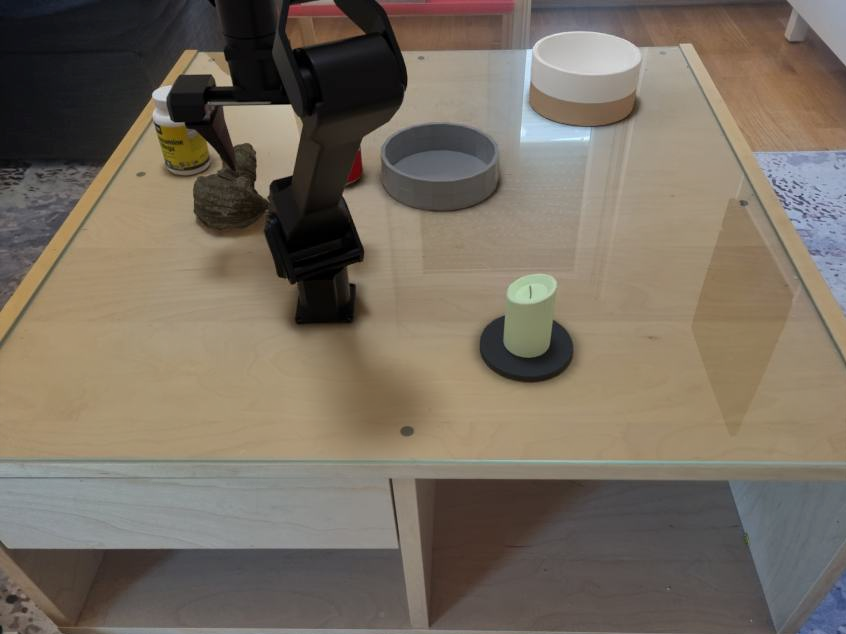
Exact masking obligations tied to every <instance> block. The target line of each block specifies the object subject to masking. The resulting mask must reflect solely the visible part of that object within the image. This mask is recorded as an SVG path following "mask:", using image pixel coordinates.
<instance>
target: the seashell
mask: <svg viewBox="0 0 846 634" xmlns="http://www.w3.org/2000/svg"><path fill="white" fill-rule="evenodd" d="M233 148H234V151H235V155H236V160H237V166H238V167H237V171H235V172H233V171H232V170H231V169H230V168H229V166H228V165H227V164H226V163H225V161H224V160H223V159H222V158H221V156H220V155H219V159H220V160H221V163H222V165H221V166H222V168H221V169H217V171H216V173H211V174H208V175H205V176H203V175H198V176H197V177H196V179H195V181H194V182H193V189H192V197H193V214H194V215H195V217H196V218H197V219H198V221H199V222H200V223H201V224H202V225H203V227H206V228H207V229H210V230H213V231H221V232H222V231H227V230H242V229H246V228H248V227H249V226H252V225H253V224H255V223H256V222H258V221H259V220H260V219H261V218H262V217H263V216H264V215H265V213H266V212H268V204H269V201H268V199H267V198H264V197H263V196H262V195H261V194H259V192H258V190H257V189H256V188H255V187H256V186H255V184H256V181H257V176H258V175H257V167H258V165H257V163H258V161H257V156H256V155H257V151H256V150H255V149H254V147H253V145H252V144H251V143H249V142H244V143H240V144H239V143H238V144H236V145H235V144H234V145H233Z"/></svg>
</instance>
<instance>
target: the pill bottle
mask: <svg viewBox="0 0 846 634" xmlns="http://www.w3.org/2000/svg"><path fill="white" fill-rule="evenodd" d="M172 85H173V84H172ZM172 85H165V86H162V87H159V88H156V89H155V90H154V91H153V92H152V94H151V97H152V101H153V104H154V106H155V108H154V109H153V111H152V121H153V125H154V129H155V133H156V135H157V139H158V143H159V146H160V149H161V153H162V155H163V159H164V163H165V166H166V169H167V170H168V171H169V172H171V173H172V174H174V175H178V176H191V175H196V174H199V173H201V172H203V171H205V170H206V169H207V168H209V166H210V164H211V162H212V161H211V155H210V151H209V146H208V142H207V141H206V140H205V139H204V138H203V137H202V136H201V135H200V134H199V133H198V132H197V131H196V130H194V129H187V128H186V127H185V122H181V123H175V122H173V121H171V120H170V116H169V112H168V109H167V103H166V97H167V95H168V93H169V91H170V89H171V87H172Z"/></svg>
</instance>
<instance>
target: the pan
mask: <svg viewBox="0 0 846 634" xmlns="http://www.w3.org/2000/svg"><path fill="white" fill-rule="evenodd" d="M500 155H501V154H500V149H499V144H498V142H496V141H495V139H494V138H493V137H492V135H490V134H488V133H486V132H485V131H483V130H482V129H480V128H476V127H475V126H470V125H467V124H464V123H457V122H448V121H437V122H436V121H432V122H424V123H418V124H413V125H410V126H407V127H404V128H401V129H399V130H397V131H395V132H394V133H393V134H391V135H390V136H388V137H387V138H386V139H385V141H384V142H383V143H382V145H381V147H380V164H381V165H380V167H381V179H382V185H383V187H384V189H385V192H387V194H389V196H390V197H392V198H393V199H394V200H396V201H398V202H399V203H401V204H403V205H405V206H408V207H411V208H415V209H418V210H419V209H420V210H425V211H433V212H436V211H437V212H438V211H440V212H443V211H455V210H460V209H464V208H468V207H471V206H474V205H477V204H479V203H482V202H483V201H485V200H486V199H487V198H489V197H490V196H491V195H492V194H493V193H494V191H496V188H497V186H498V183H499V182H498V181H499V176H500V174H499V173H500Z"/></svg>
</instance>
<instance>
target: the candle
mask: <svg viewBox="0 0 846 634" xmlns="http://www.w3.org/2000/svg"><path fill="white" fill-rule="evenodd" d="M557 291H558V282H557V279H556V278H555V277H553V276H551V275H549V274H545V273H532V274H527V275H524V276H521V277H520V278H517V279H516V280H514V281H513V282H512V283H510V285H509V286H508V287H507V290H506V293H505V294H506V295H505V309H504V310H505V312H504V315H505V324H504V339H503V342H504V346H505V347H506V349H507V350H508V351H510V352H511V353H512V354H514V355H516V356H520V357H526V358H530V357H537V356H540V355H542V354H543V353H545V352H546V351H547V350H548V348H549V346H550V339H551V331H552V323H553V320H554V315H555V306H556V298H557Z"/></svg>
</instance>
